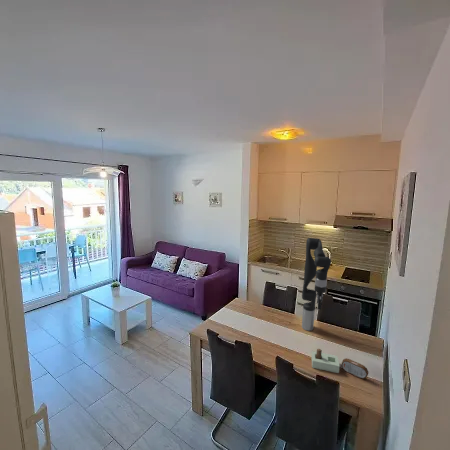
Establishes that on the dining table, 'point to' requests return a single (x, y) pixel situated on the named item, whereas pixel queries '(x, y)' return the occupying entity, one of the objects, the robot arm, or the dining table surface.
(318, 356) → the peg
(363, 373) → the tin
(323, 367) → the hole block
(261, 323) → the dining table surface
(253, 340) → the dining table surface
